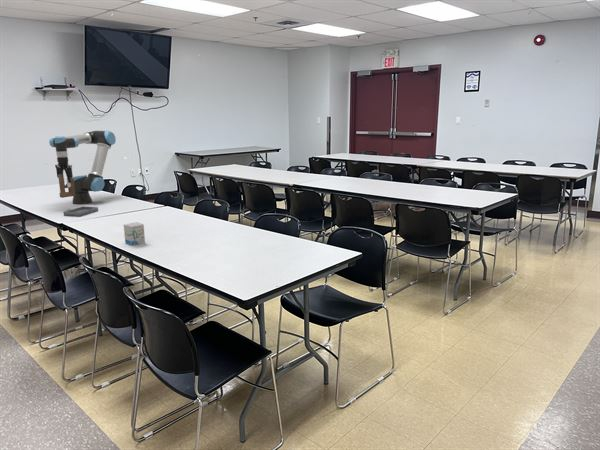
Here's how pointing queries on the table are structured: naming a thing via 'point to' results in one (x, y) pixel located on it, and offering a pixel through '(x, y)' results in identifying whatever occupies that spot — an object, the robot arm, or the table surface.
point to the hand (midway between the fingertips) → (66, 186)
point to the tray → (80, 211)
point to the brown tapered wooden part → (62, 187)
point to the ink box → (134, 233)
